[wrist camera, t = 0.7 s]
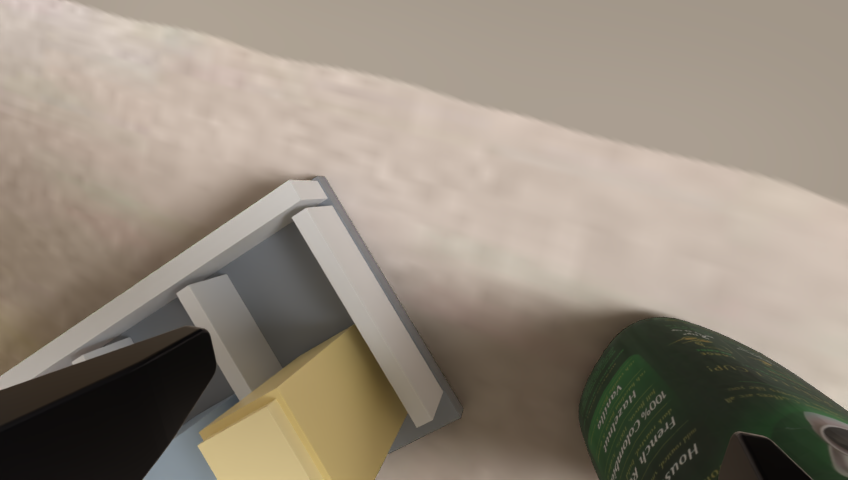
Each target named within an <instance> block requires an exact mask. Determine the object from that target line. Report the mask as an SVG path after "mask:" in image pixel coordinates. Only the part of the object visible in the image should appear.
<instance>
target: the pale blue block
mask: <svg viewBox="0 0 848 480" xmlns="http://www.w3.org/2000/svg"><path fill="white" fill-rule="evenodd" d="M238 402H239V399H238V398H237V396H236V394H233V395H231V396H229V397H228V398H226V399H224V400H222V401H221V402H219V403H217V404H216V405H214V406H212V407H210V408H209V409H207V410H205V411H203V412H202V413H200V414H198V415H197V416H195V417H194V418H192V419H191V420H189V421H188V422H187V423H185V424H184V425H182V426H181V428H180V429H179V431H178V433H177V434H176V436H175V437H174V439H173V440H172V441H171V443H170V444H169V446H168V447H167V449H166V450H165V451H164V453H163V454H162V455H161V457H160V458H159V459H158V461H157V462H156V463H155V464H154V466H153V467H152V468H151V470H150V471H149V472H148V473H147V475H146V476H145V477H144V479H143V480H217V478H216V476H215V475H214V473H213V471H212V470H211V468H210V466H209V465H208V463H207V461H206V460H205V458H204V456H203V454H202V453H201V451H200V449H199V448H198V446H197V445H199V444H200V443H201V442H202V441H203V439H202V437H201V436H200V434H199V432H200V431H201V430H202V429H204V428H205V427H206V426H207V425H209V424H210V423H211V422H213V421H214V420H215V419H217V418H218V417H219V416H221V415H222V414H223V413H225V412H226V411H227V410H229V409H230V408H231V407H233V406H234V405H235V404H237V403H238Z"/></svg>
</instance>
